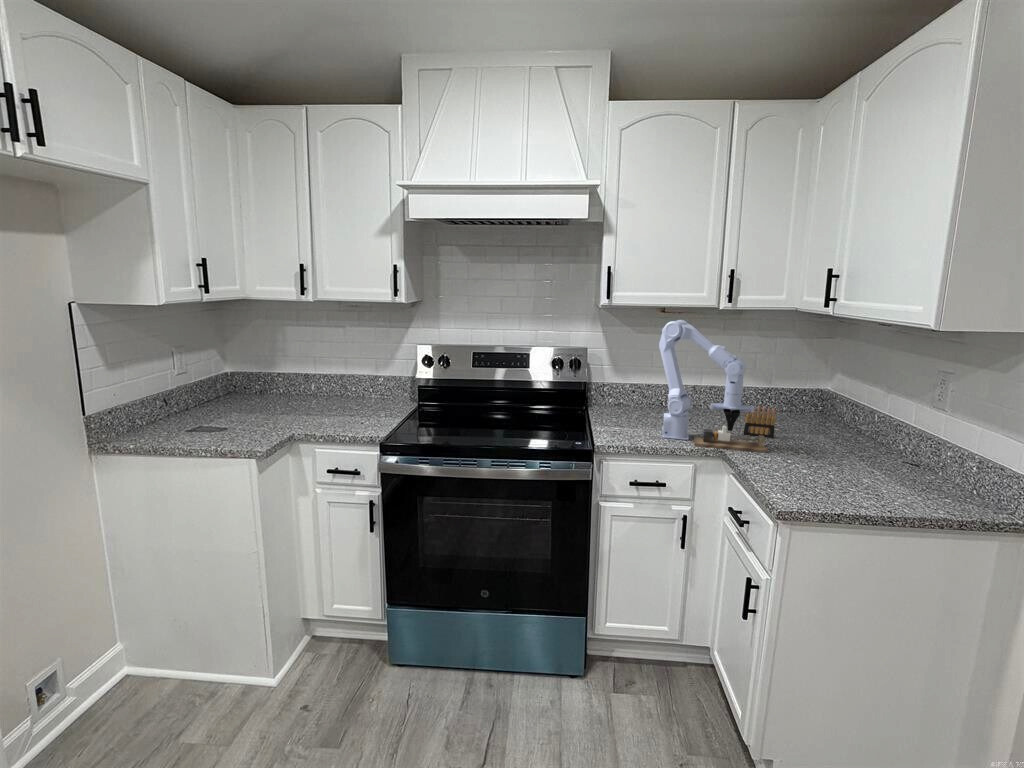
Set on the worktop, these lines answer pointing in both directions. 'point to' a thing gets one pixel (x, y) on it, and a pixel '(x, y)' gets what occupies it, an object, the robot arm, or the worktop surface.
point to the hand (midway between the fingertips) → (729, 430)
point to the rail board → (730, 442)
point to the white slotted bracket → (724, 434)
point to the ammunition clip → (760, 423)
